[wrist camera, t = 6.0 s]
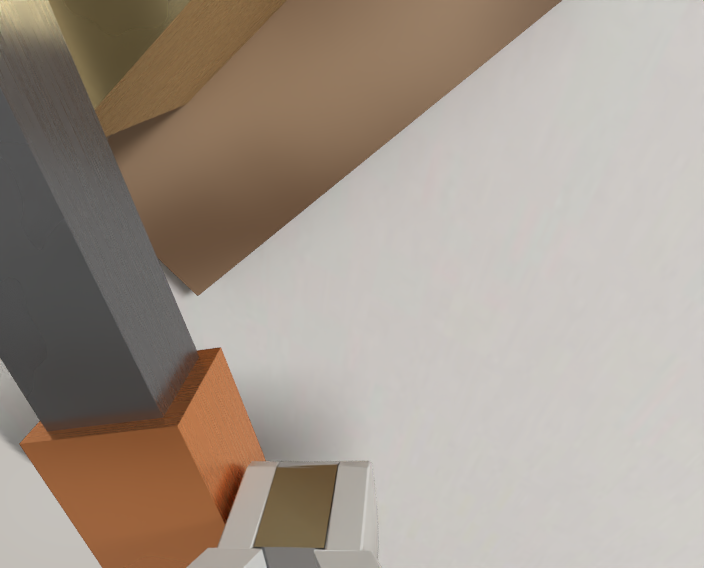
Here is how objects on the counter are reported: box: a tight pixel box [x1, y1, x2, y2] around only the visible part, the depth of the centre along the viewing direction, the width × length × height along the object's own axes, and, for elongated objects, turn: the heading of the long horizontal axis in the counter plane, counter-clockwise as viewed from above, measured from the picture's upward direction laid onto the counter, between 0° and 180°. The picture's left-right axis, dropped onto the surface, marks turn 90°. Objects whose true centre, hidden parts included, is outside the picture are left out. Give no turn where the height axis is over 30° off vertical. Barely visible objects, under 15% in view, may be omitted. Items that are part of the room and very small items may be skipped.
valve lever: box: [0, 0, 266, 568], centre depth 7 cm, size 13×3×2 cm, turn 13°
